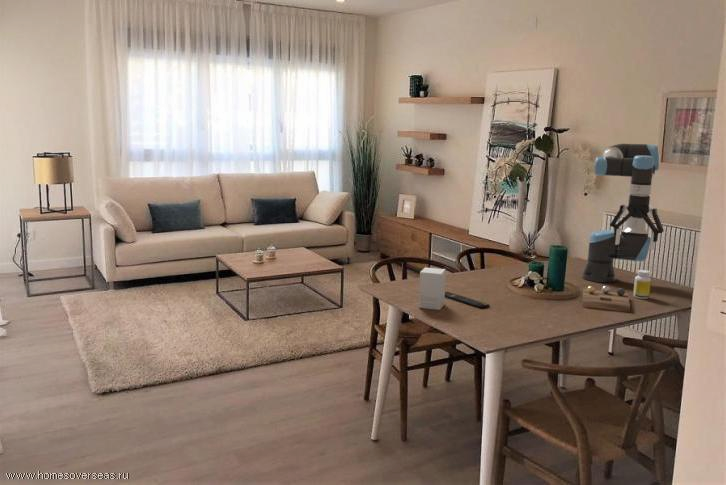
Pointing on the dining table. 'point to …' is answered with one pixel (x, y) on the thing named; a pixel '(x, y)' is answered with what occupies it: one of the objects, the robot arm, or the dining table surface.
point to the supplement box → (432, 288)
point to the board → (606, 300)
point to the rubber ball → (620, 291)
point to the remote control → (466, 300)
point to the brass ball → (590, 289)
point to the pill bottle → (642, 285)
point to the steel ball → (605, 289)
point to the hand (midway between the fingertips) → (634, 246)
